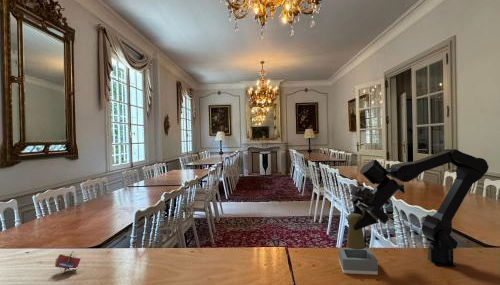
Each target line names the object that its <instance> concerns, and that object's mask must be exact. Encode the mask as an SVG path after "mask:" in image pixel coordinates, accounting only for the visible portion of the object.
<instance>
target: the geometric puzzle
mask: <svg viewBox="0 0 500 285" xmlns="http://www.w3.org/2000/svg"><path fill="white" fill-rule="evenodd" d="M67 253H69V251H68V252H66V254H67ZM66 254H63V253H61V254H60V253H59V255H58V256H57V258H56V259H55V262H54V267H55V268H57V269H58V268H59V270H61V268H62V269H64V270H65V269H66V270H68V271H71V270H70V269H69V268H76V267H77V268H78V266H79V264H80V262H81V258H79V257H77V256H76V255H77V254H76V252H74V251H71V253H70V254H69V255H66ZM73 254H74V255H73ZM75 254H76V255H75ZM61 271H62V270H61Z"/></svg>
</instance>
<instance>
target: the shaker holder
mask: <svg viewBox="0 0 500 285" xmlns="http://www.w3.org/2000/svg"><path fill="white" fill-rule="evenodd" d="M338 261H339V265H340V267H341V270H342V273H343V274H354V275H355V274H356V275H379V273H378V272H379V270H378V269H379V268H378V267H379V266H378V265H379V263H378V262H379V261H378V259H377V258H376V255H375V254H374V253H373V252H372V250H371V248H366V247H365V248H364V249H351V248H348V247H338Z"/></svg>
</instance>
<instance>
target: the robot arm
mask: <svg viewBox="0 0 500 285" xmlns="http://www.w3.org/2000/svg"><path fill="white" fill-rule="evenodd" d="M446 164H451V165H453V166H455V167H456V169H455V176H456V177H455V179H454V181H453V183H452V185H451V186H450V188H449V190H448V192H446V193H447V194H446V195H445V197H444V199H443V201H442V203H441V204H440V206H439V207H438V209H437V211H436V212H435V213H434V214H432V215H430V214H427V215H426V216H425V218H424V220H423V222H421V225H422V226H421V229H420V230H421V231H422V234H423V236H424V237H425V239H426V241H427V242H429V246H428V248H427V251H428V252H427V259H428V260H429V261H430V262H431V263H432V264H433V265H434V266H438V267H439V266H440V267H441V266H442V267H456V266H457V264H456V263H454V249H457V247H458V241H457V240H456V239H455V238H453V237H452V235H451V233H452V231H453V224H452V223H453V222H452V221H453V219H454V218H455V216H456V214H457V212H458V211H459V208H460V206H462V204H463V201H464V200H465V198H466V196H467V195H468V193H469V191H470V190H471V187H472V186H473V184H475V183H477V182H478V181H479V180H481V179H482V178H483V177H484V176H485V175H486V174H487V172H488V171H489V165H488V162H487V160H486V159H484V158H482V157H476V156H473V155H471V154H468V153H464V152H462V151H460V150H459V149H456V148H455V149H454V148H446V149H444V150H443V151H440V152H435V153H434V154H431V155H428V156H425V157H423V158H420V159H416V160H413V161H408V162H407V161H406V162H400V163H399V162H398V163H394V164H392V165H391V166H390V167H386V168H385V167H384V166H382V164H381V163H380V162H379V161H378V159H372V160H371V161H369V162H367V163H366V164H364V165H363V166H362V167H361V169H360V171H359V172H360V174H361V175H362V176H363V177H364V178H365V179H366V180H368V181H369V183H371V185H376V187H374V189H372V188H370V187H369V188H368V187H367V186H363V187H359V186H356V185H353V187H352V189H351V190H350V195H352V197H351V199H350V202H352V206H353V209H352V210H353V211H352V213H351V214H354V213H355V214H360V215H362V216H361V217H360V219H359V220H358V222H357V223H356V224H355V226H354V228H353V229H354V230H359V229H361V228H362V229H363V228H366V227H368V226H373V225H375V224H379V222H380V223H381V224H383V225H386V224H387V223H388V221H389V215H388V214H387V213H386V212H385V211H383V210H382V208H383V207H384V206H385V205H387V206H389V204H390V199H391V198H392V197H393V196H394V195H395V194H396V193H397V192H399V193H402V194H405V193H406V191H405V184H401V183H408V182H409V183H410V182H411V181H413V180H414V179H416V178H418V177H419V175H421V174H423V173H425V172H428V171H430V170H433V169H436V168H438V167H441V166H444V165H446ZM397 181H399V182H401V183H398V182H397ZM347 225H348V226H349V223H348V222H347Z"/></svg>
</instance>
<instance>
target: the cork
mask: <svg viewBox="0 0 500 285" xmlns="http://www.w3.org/2000/svg"><path fill="white" fill-rule="evenodd" d="M361 216H362V215H360V214H355V213H354V214H352V213H349V214H348V215H347V216H346V221H347V224H348V223H349V225H348V228H347V231H348V232H347V238H346V239H347V240H346V248H351V249H364V248H365V249H366V243H365V237H364V230H363V228H361V229H359V230H354V229H353V228H354V226H355V224H356V223H357V222H358V220H359V219H360V217H361Z"/></svg>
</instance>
